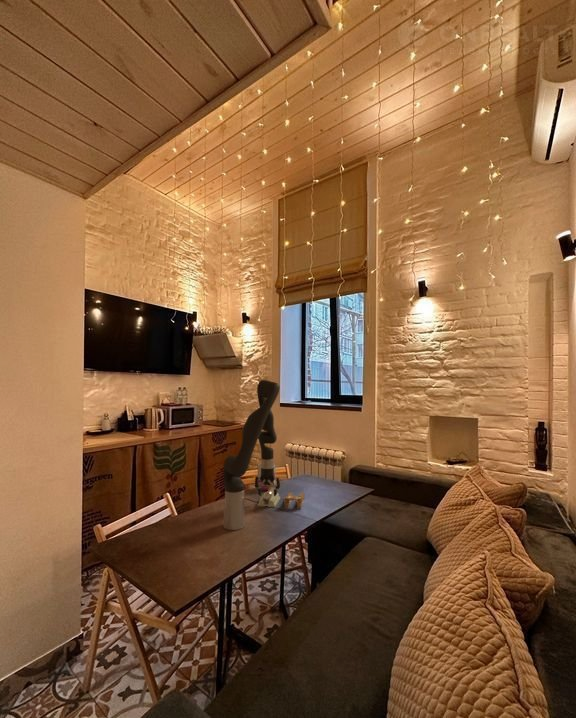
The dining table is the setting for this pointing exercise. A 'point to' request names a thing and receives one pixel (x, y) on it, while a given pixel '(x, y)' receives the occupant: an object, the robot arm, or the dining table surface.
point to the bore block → (298, 498)
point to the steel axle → (268, 494)
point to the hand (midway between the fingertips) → (267, 495)
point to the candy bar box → (263, 487)
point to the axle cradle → (271, 502)
